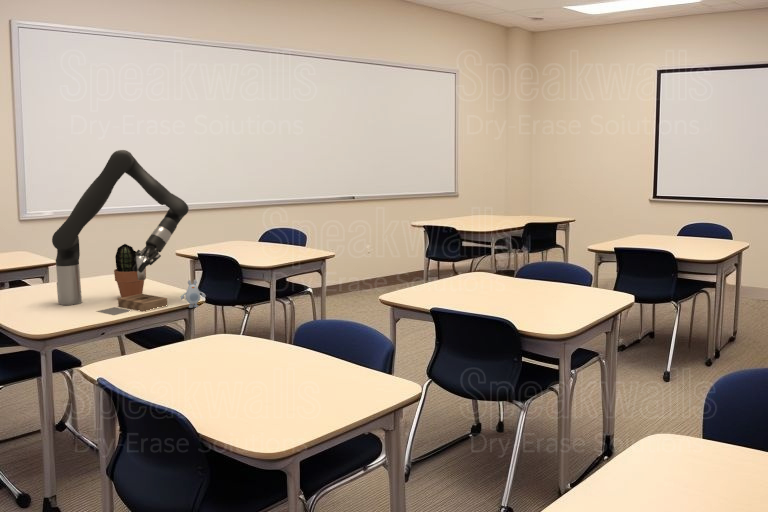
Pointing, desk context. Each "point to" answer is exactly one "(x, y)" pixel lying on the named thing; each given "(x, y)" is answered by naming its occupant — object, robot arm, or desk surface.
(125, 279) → the potted plant
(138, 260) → the metal peg
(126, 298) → the hole block
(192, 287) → the toy figure
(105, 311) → the rubber mat
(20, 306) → the desk surface
